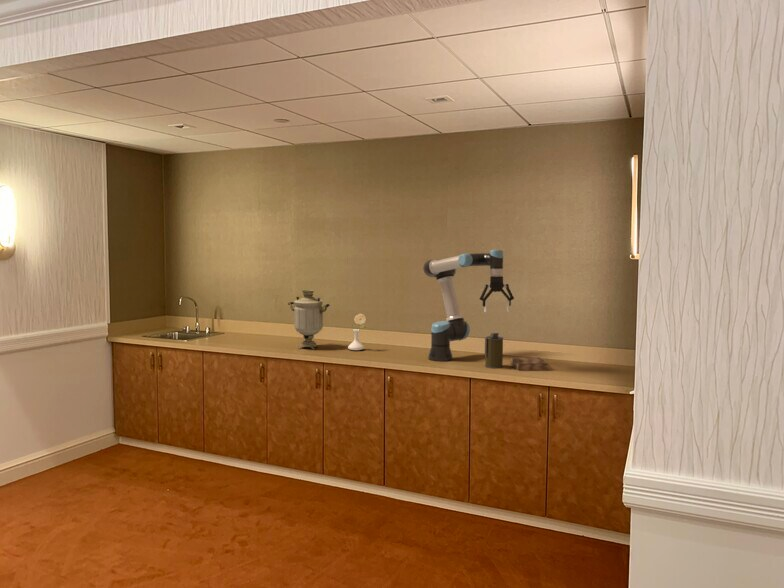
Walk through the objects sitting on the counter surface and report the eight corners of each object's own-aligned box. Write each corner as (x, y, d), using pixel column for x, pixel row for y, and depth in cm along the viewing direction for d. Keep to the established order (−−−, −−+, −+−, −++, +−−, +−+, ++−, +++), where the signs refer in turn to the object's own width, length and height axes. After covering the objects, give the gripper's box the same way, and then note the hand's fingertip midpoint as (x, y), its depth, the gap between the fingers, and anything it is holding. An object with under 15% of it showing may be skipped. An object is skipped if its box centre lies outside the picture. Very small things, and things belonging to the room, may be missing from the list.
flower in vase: (345, 350, 406) (345, 314, 404) (351, 347, 417) (351, 312, 415) (363, 352, 402) (363, 314, 400) (369, 349, 413) (369, 312, 411)
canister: (497, 364, 364) (498, 331, 363) (505, 367, 355) (506, 334, 353) (481, 365, 361) (481, 332, 359) (489, 368, 351) (490, 335, 349)
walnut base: (518, 370, 347) (518, 363, 347) (510, 364, 365) (510, 357, 365) (548, 370, 348) (549, 363, 347) (540, 363, 366) (540, 357, 365)
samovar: (340, 346, 423) (339, 289, 419) (316, 352, 400) (315, 292, 397) (307, 342, 438) (306, 287, 435) (282, 347, 416) (281, 290, 413)
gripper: (477, 276, 349) (477, 313, 351) (519, 275, 352) (519, 311, 354) (474, 276, 357) (474, 311, 358) (515, 275, 360) (515, 310, 361)
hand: (496, 311), depth 356 cm, fingers open, 13 cm apart
